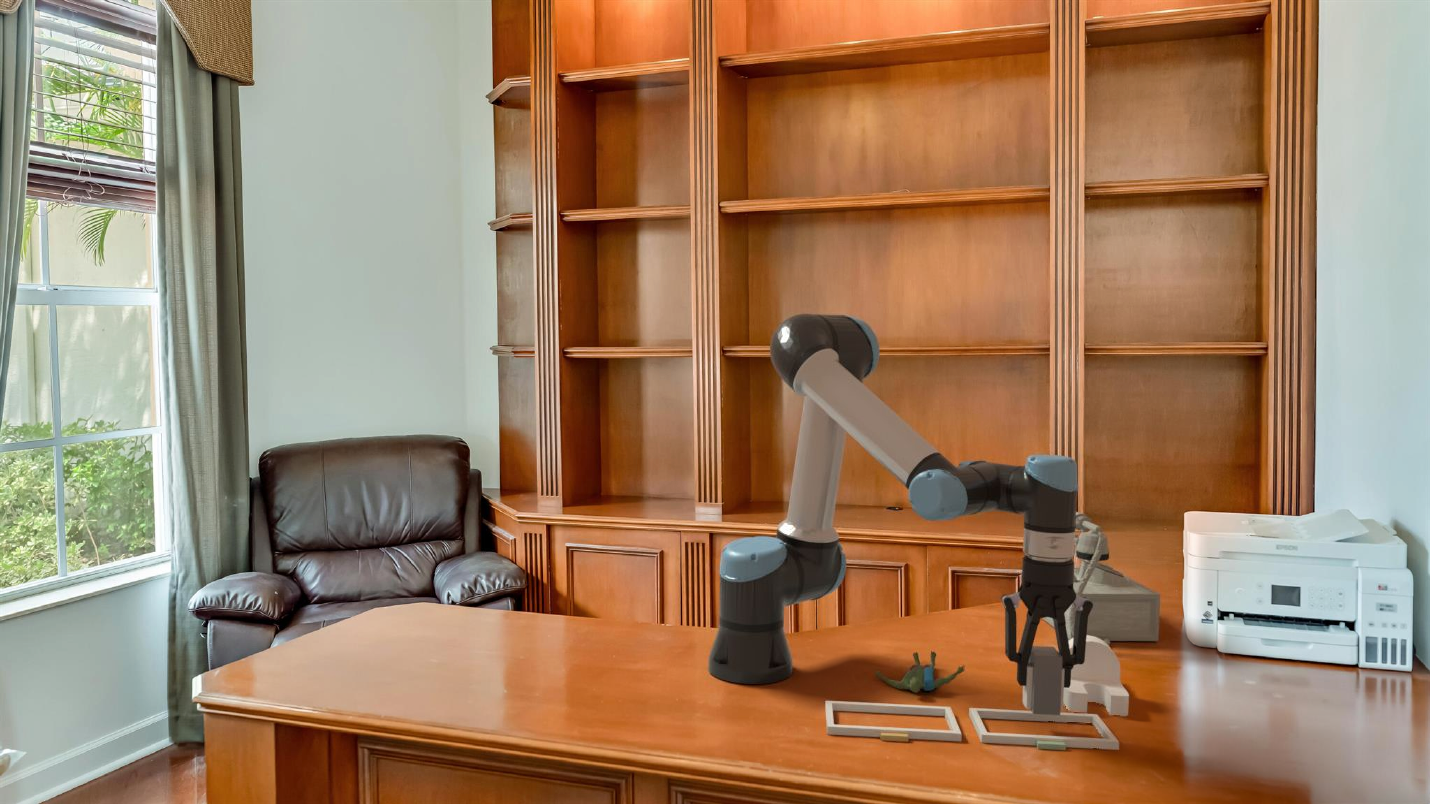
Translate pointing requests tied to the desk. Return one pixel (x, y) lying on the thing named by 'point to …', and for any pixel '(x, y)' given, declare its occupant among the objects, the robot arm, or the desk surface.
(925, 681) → the figurine
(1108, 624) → the rotary telephone
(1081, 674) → the white slotted bracket
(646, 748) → the desk surface
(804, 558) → the robot arm
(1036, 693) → the plug
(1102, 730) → the socket
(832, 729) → the socket
